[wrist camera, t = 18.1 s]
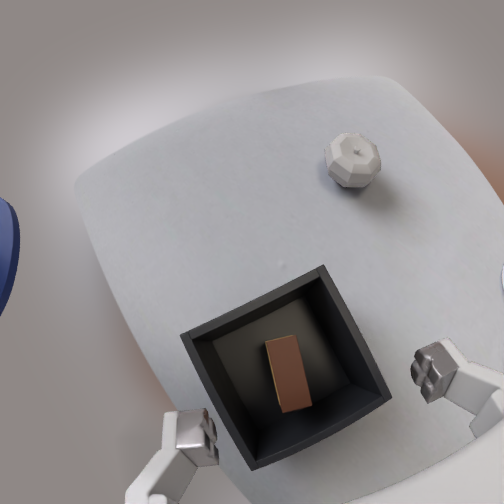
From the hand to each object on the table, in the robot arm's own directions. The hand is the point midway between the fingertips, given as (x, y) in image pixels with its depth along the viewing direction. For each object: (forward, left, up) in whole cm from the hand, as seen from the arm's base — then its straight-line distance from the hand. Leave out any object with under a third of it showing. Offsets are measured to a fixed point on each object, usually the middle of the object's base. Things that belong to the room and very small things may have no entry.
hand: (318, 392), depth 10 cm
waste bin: (0, -1, -24) cm, 24 cm away
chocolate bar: (0, -1, -23) cm, 23 cm away
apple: (+20, +17, -24) cm, 36 cm away
